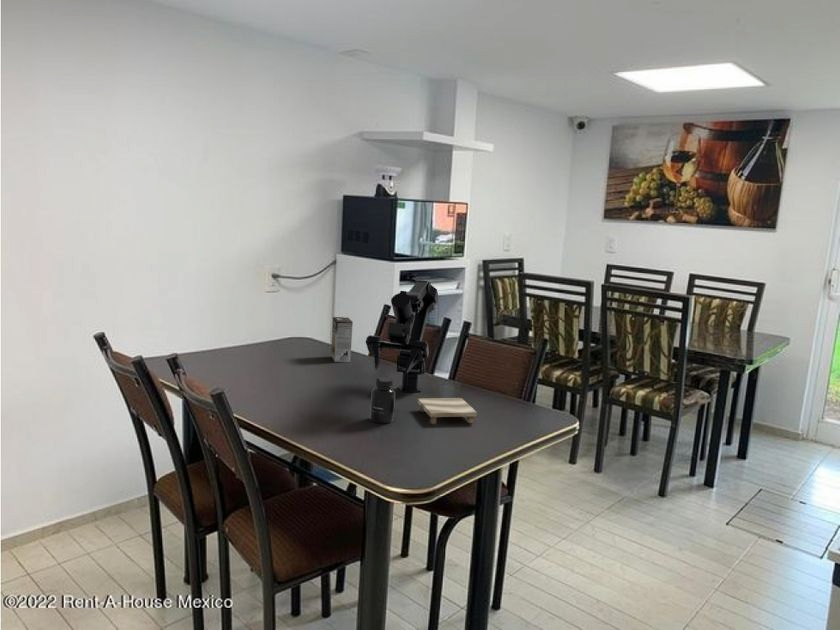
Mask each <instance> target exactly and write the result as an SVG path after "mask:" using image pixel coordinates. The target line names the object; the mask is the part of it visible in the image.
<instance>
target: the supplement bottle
mask: <svg viewBox="0 0 840 630" xmlns="http://www.w3.org/2000/svg"><path fill="white" fill-rule="evenodd" d="M393 384H394V380H393V379H391V378H388V377H378V378H376V379H375V387H373V389H371V396H370V409H369V420H370V421H371V422H372V423H376V424H381V425H382V424H383V425H385V424H391V423H392V422H393V421H394V415H395V414H394V413H395V405H396V404H395V403H396V391H395V389H394V388H393V387H394V385H393Z"/></svg>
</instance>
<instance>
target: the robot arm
mask: <svg viewBox="0 0 840 630" xmlns="http://www.w3.org/2000/svg"><path fill="white" fill-rule="evenodd" d="M390 300H391V301H390V302H391V308H392V313H393V315H394V317H395V320H394V322H388V324H387V329H386V334H387V340H389V341H386V340H385V341H384V340H382V338H381V336H380V335H379V336H378V335H367V336H366V339H365V344H366V348H367V351H368V352H369V353H371V355H373V357H374V368H375V370H378V368H379V365H380V362H381V357H382V350H383V349H389V350H395V351H399V353H398V354H397V357H396V372H397V373H401V384H400V385H397V387H398V388H399V390H400V391H401V392H402V393H421V392H422V390H421V388H419V379H420V376H422V375H426V363H425V360H427V359H428V358H429V354H430V351H429V350H430V349H429V343H428V342H427V341H425V340H423V337H424V334H425V330H426V325H427V321H428V318H429V314H430V313H432V312H433V311H435V307H436V304H438V301H439V292H438V289H437V288H436V287H435V286H433V285H432V284H431V282H430V281H428V280H421V279H417V280H415V281H414V285H413V286H412V287H411V289H409V291H406V290H400V291H399V293H397V294H396V293H395V294H394V295H393V297H391V299H390Z"/></svg>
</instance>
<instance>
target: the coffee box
mask: <svg viewBox="0 0 840 630" xmlns="http://www.w3.org/2000/svg"><path fill="white" fill-rule="evenodd" d="M353 324H354V322H353V320H351V319H350V317H345V316H344V317H343V316H333V317H332V328H331V329H332V332H331V335H332V336H331V358H332V359H333V361H334V363H335V362H336V363H340V362H341V363H346V362H347V363H350V362H351V358H352V357H351V356H352V354H351V353H352V342H353V341H352V340H353V337H352V336H353Z"/></svg>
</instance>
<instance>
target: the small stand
mask: <svg viewBox="0 0 840 630" xmlns="http://www.w3.org/2000/svg"><path fill="white" fill-rule="evenodd" d="M417 403H418V405H419V412H422V413H425V412H426V415H428V416H429V417H430V418H429V419H430V420H429V424H431V425H437V421H438V419H437V418H444V417H445V418H451V417H453V418H457V417H459V418H460V417H461V418H462V417H463V418H465V417H466V423H467V424H474V417H477V416H478V411H476V410H475V409H474V408H473V407H472V405H470V404H469V403H467V401H465V400H464V399H463V398H462V397H442V398H441V397H435V398H434V397H432V398H431V397H430V398H427V397H426V398H425V397H424V398H421V397H420V398H417Z"/></svg>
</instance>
